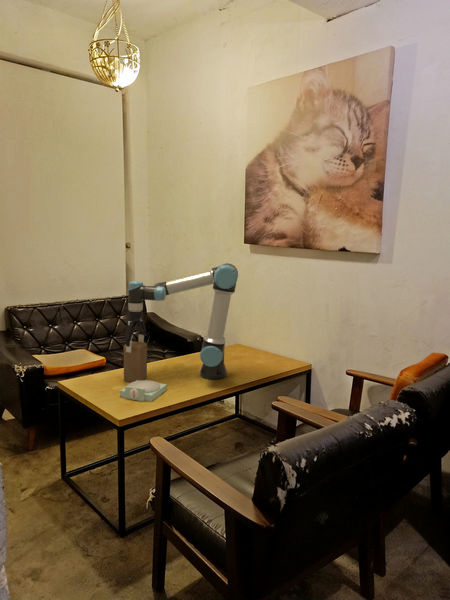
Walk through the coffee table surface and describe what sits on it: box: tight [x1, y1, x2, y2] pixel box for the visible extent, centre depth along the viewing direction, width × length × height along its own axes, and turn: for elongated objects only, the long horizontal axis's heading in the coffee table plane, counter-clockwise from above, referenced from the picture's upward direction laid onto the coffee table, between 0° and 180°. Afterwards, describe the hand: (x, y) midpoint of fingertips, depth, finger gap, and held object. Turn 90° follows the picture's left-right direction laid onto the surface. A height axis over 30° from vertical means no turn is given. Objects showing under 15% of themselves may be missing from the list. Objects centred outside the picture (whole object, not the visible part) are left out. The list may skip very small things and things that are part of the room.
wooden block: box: [123, 340, 148, 383], centre depth 246 cm, size 10×10×20 cm
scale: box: [119, 379, 168, 403], centre depth 226 cm, size 17×19×6 cm
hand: (135, 349), depth 245 cm, fingers open, 13 cm apart
